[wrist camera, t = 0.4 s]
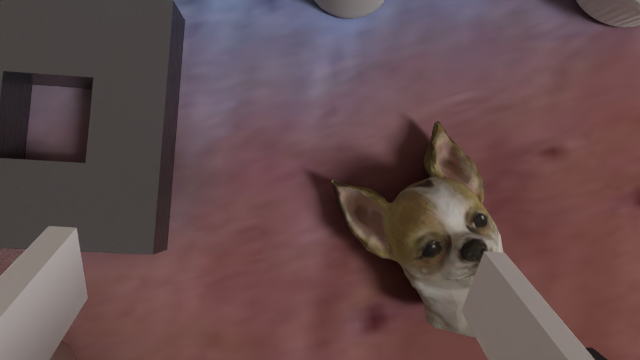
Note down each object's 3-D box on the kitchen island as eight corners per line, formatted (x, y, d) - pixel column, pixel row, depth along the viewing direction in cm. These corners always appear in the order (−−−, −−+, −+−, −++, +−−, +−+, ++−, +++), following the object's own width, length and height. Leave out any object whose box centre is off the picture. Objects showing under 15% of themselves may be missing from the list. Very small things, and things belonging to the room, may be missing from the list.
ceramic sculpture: (461, 406, 22) (329, 174, 23) (416, 356, 30) (321, 188, 32) (613, 308, 23) (479, 91, 24) (528, 286, 31) (432, 126, 33)
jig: (166, 249, 30) (152, 254, 27) (-56, 239, 29) (-97, 243, 26) (184, 20, 31) (173, 0, 28) (-29, 2, 30) (-64, -20, 27)
